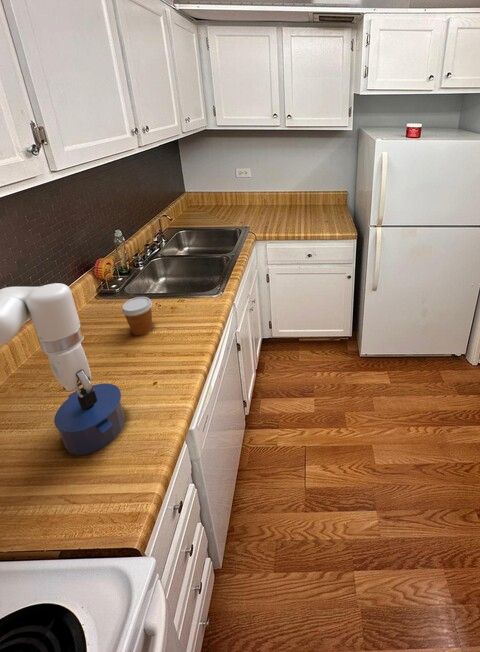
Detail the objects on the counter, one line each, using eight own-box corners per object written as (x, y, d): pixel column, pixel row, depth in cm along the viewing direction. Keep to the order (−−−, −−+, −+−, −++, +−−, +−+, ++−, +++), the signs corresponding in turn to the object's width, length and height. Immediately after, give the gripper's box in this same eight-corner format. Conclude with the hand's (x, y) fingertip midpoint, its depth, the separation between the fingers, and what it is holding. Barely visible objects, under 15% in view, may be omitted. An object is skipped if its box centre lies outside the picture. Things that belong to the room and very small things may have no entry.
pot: (85, 475, 74) (76, 449, 71) (52, 432, 83) (43, 407, 80) (140, 431, 84) (134, 407, 81) (105, 398, 93) (98, 374, 90)
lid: (70, 446, 72) (63, 426, 70) (45, 415, 79) (38, 396, 77) (132, 402, 82) (127, 384, 80) (105, 378, 90) (100, 360, 87)
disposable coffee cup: (122, 335, 118) (114, 307, 113) (145, 320, 126) (139, 293, 121) (140, 343, 114) (133, 314, 109) (163, 327, 122) (157, 300, 117)
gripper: (27, 331, 75) (47, 388, 81) (58, 364, 66) (78, 426, 72) (65, 315, 81) (81, 369, 87) (98, 344, 72) (114, 402, 78)
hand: (80, 395), depth 80 cm, fingers open, 9 cm apart
